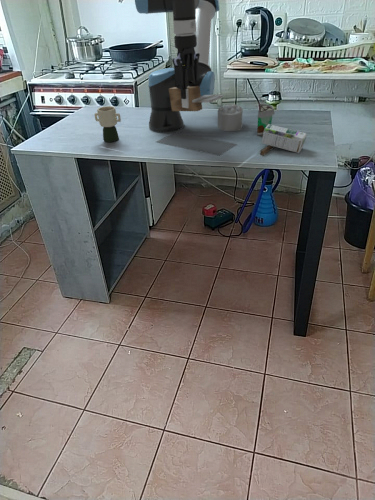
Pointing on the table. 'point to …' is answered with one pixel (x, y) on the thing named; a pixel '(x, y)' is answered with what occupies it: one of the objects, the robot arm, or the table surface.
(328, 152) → the table surface
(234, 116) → the grey rounded piece
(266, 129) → the syrup box
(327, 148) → the table surface
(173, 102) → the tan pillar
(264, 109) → the food container
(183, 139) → the tool mat
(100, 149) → the table surface
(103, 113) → the trophy cup
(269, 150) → the bar
